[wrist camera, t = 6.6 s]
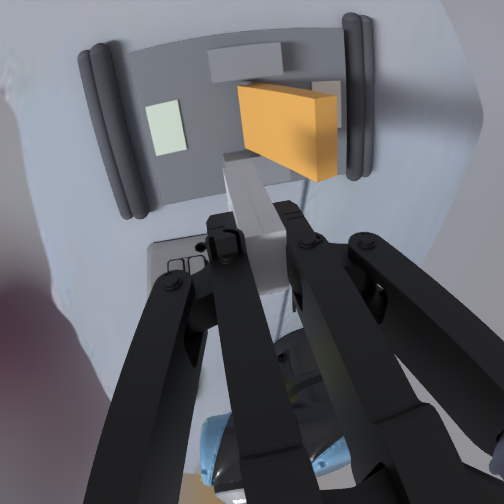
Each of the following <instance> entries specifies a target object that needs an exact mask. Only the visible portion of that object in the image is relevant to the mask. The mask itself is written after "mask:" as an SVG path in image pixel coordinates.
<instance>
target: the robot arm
mask: <svg viewBox="0 0 504 504" xmlns="http://www.w3.org/2000/svg"><path fill="white" fill-rule="evenodd" d="M223 174H224V180H225V186H226V193H227V199H228V205H229V211H230V212H226V213H220V214H215V215H210V217H209V218H208V220H207V222H206V225H207V234H208V236H207V237H206V239H205V245H206V249H207V253H208V257H209V263H208V264H207V265H206V266H205V267H204V268H203V269H202V270H200V271H198V272H196V273H194V274H192V275H190V274H189V273H188V272H186V271H184V270H178V269H177V270H171V271H168V272H166V273H163V274H162V275H161V276H159V277H158V278H157V280H156V281H155V283H154V285H153V287H152V290H151V292H150V295H149V298H148V300H147V303H146V305H145V308H144V310H143V313H142V316H141V318H140V321H139V323H138V326H137V329H136V332H135V334H134V337H133V340H132V342H131V345H130V348H129V351H128V354H127V356H126V359H125V362H124V365H123V368H122V371H121V374H120V377H119V380H118V383H117V386H116V389H115V392H114V395H113V398H112V401H111V405H110V407H109V411H108V414H107V417H106V420H105V424H104V427H103V431H102V434H101V437H100V440H99V444H98V447H97V451H96V455H95V458H94V462H93V466H92V469H91V473H90V477H89V481H88V485H87V489H86V494H85V498H84V502H83V504H178V501H179V494H180V489H181V482H182V476H183V470H184V464H185V457H186V451H187V445H188V439H189V434H190V428H191V422H192V416H193V410H194V405H195V399H196V394H197V388H198V382H199V377H200V372H201V366H202V361H203V355H204V350H205V345H206V340H207V334H208V329H209V328H211V327H213V326H215V325H218V328H219V335H220V342H221V348H222V355H223V361H224V368H225V374H226V380H227V386H228V392H229V398H230V404H231V410H232V412H229V413H228V414H223V415H217V416H212V417H209V418H207V419H206V420H205V421H204V423H203V425H202V429H201V435H200V467H201V476H202V480H203V483H204V484H205V485H208V486H210V487H211V486H213V485H214V491H215V495H216V496H217V497H218V498H219V499H221V500H222V501H224V502H225V503H226V504H504V481H502V480H500V479H498V478H495V477H493V476H491V475H489V474H487V473H484V472H482V471H480V470H478V469H476V468H474V467H472V466H469V465H467V464H465V463H463V462H462V461H461V459H460V457H459V454H458V452H457V450H456V448H455V446H454V444H453V442H452V440H451V437H450V436H449V433H448V431H447V429H446V427H445V425H444V423H443V421H442V419H441V417H440V415H439V414H438V412H437V411H436V409H435V408H434V407H433V406H432V405H430V403H423V402H421V401H420V400H419V399H418V398H417V396H416V394H415V393H414V391H413V389H412V387H411V385H410V383H409V381H408V379H407V377H406V375H405V373H404V371H403V370H402V368H401V366H400V364H399V362H398V360H397V358H396V357H395V355H396V356H397V357H398V358H399V359H400V361H401V362H402V363H403V364H404V365H405V366H406V367H407V368H408V369H409V371H410V372H411V373H412V374H413V375H414V376H415V377H416V378H417V379H418V380H419V382H420V383H421V384H422V385H423V386H424V387H425V388H426V390H427V391H428V392H429V393H430V394H431V395H432V396H433V397H434V399H435V400H436V401H437V402H438V403H439V404H440V405H441V407H442V408H443V409H444V410H445V411H446V412H447V414H448V415H449V416H450V417H451V418H452V419H453V421H454V422H455V423H456V424H457V425H458V426H459V428H460V429H461V430H462V431H463V432H464V433H465V435H466V436H467V437H468V438H469V439H470V440H471V441H472V442H473V443H474V444H475V445H477V446H478V447H479V448H480V449H481V450H483V451H484V452H485V453H487V454H489V455H490V456H492V457H493V459H492V460H491V461H490V464H489V470H490V472H491V473H492V474H494V475H500V476H501V477H502V478H503V479H504V342H503V340H502V339H500V337H499V336H497V335H496V334H495V333H494V332H493V331H492V330H491V329H490V328H489V327H488V326H487V325H486V324H485V323H483V322H482V321H481V320H480V319H479V318H478V317H477V316H476V315H475V314H474V313H472V312H471V311H470V310H469V309H468V308H467V307H466V306H464V305H463V304H462V303H461V302H460V301H459V300H458V299H457V298H455V297H454V296H453V295H452V294H450V293H449V292H448V291H447V290H446V289H445V288H444V287H442V286H441V285H440V284H439V283H438V282H436V281H435V280H434V279H432V277H430V276H429V275H428V274H427V273H426V272H424V271H423V270H422V269H421V268H419V267H418V266H417V265H416V264H414V263H413V262H412V261H411V260H409V259H408V258H407V257H406V256H404V255H403V254H402V253H401V252H399V251H398V250H397V249H395V248H394V247H393V246H391V245H390V244H389V243H388V242H386V241H385V240H384V239H382V238H381V237H380V236H378V235H376V234H373V233H369V232H360V233H355V234H354V235H352V236H351V237H350V239H349V242H348V244H336V243H329V242H328V241H327V240H326V238H325V237H324V236H323V235H321V234H319V233H316V232H314V231H313V229H312V228H311V226H310V225H309V223H308V221H307V220H306V218H305V217H304V215H303V213H302V212H301V210H300V209H299V207H298V205H297V204H295V203H293V202H291V201H290V200H287V201H282V202H276V203H272V201H271V200H270V198H269V196H268V194H267V192H266V190H265V188H264V186H263V184H262V182H261V180H260V178H259V176H258V174H257V172H256V170H255V169H254V167H253V165H252V163H249V164H243V165H237V166H232V167H226V168H223ZM289 282H290V284H291V287H292V305H293V312H296V309H297V311H298V314H299V317H300V319H301V322H302V325H303V327H304V329H301V330H298V331H295V332H293V333H290V334H288V335H286V336H284V337H283V338H281V339H280V340H278V341H277V342H276V343H274V344H273V341H272V338H271V335H270V331H269V328H268V324H267V321H266V317H265V314H264V310H263V307H262V304H261V300H260V297H259V296H260V295H265V294H269V293H274V292H279V291H284V290H288V289H289ZM378 284H379V285H380V286H381V287H382V288H383V289H382V288H380V287H379V286H378ZM394 354H395V355H394ZM350 463H351V468H352V473H353V476H354V479H355V482H356V486H355V487H352V488H346V489H333V490H320V489H319V486H318V483H317V479H316V477H318V476H322V475H326V474H328V473H331V472H333V471H336V470H338V469H340V468H342V467H344V466H346V465H348V464H350Z"/></svg>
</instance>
